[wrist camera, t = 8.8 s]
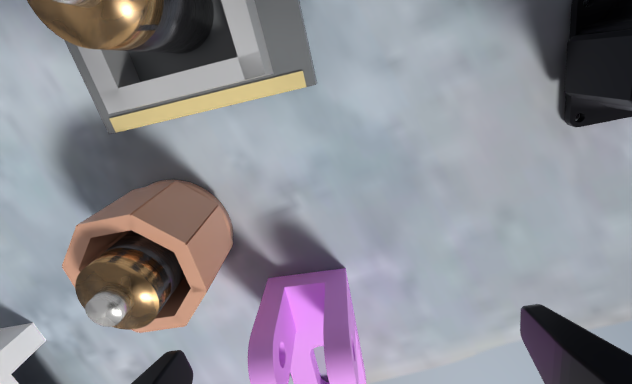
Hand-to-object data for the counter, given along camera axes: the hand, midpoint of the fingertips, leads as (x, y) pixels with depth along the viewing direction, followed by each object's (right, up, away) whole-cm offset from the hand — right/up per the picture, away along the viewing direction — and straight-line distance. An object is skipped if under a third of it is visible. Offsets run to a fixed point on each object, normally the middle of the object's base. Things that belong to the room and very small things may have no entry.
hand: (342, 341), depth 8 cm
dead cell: (-10, +1, +12) cm, 16 cm away
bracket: (0, -8, +17) cm, 18 cm away
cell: (-8, +13, +7) cm, 16 cm away
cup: (-10, +2, +13) cm, 16 cm away
